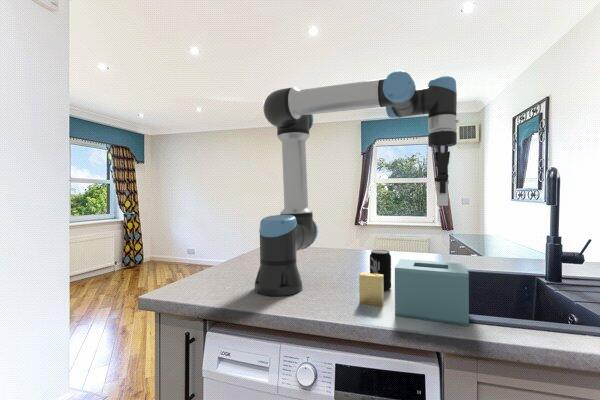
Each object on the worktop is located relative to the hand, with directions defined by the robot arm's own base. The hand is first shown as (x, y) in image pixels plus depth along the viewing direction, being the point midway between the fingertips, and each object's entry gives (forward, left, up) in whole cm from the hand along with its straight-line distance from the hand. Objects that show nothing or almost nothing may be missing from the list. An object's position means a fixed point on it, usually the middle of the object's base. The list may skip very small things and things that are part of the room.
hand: (442, 205), depth 91 cm
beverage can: (-18, +1, -27) cm, 32 cm away
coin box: (-3, -15, -27) cm, 31 cm away
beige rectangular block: (-18, -14, -27) cm, 35 cm away
